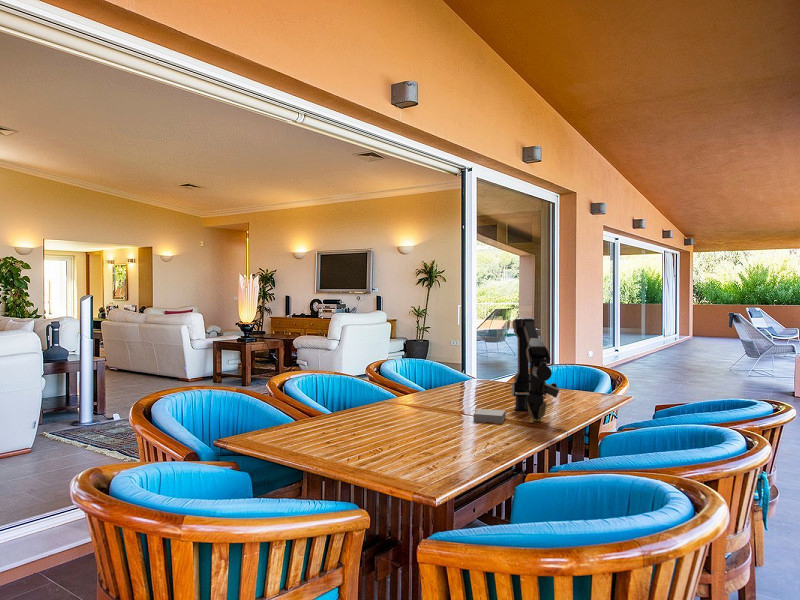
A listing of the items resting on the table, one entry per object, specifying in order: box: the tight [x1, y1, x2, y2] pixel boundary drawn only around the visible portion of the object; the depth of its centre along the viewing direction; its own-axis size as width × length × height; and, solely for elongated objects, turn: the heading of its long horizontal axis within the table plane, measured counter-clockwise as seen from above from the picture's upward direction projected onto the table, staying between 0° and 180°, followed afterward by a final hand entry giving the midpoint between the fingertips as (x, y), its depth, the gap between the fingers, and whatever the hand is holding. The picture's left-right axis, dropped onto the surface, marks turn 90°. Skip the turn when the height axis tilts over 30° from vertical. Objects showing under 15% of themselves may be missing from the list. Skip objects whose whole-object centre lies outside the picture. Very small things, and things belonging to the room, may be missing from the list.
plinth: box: [473, 408, 507, 424], centre depth 227 cm, size 11×11×3 cm
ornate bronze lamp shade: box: [527, 400, 547, 423], centre depth 223 cm, size 8×7×8 cm
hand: (536, 417), depth 223 cm, fingers closed on ornate bronze lamp shade, 6 cm apart
